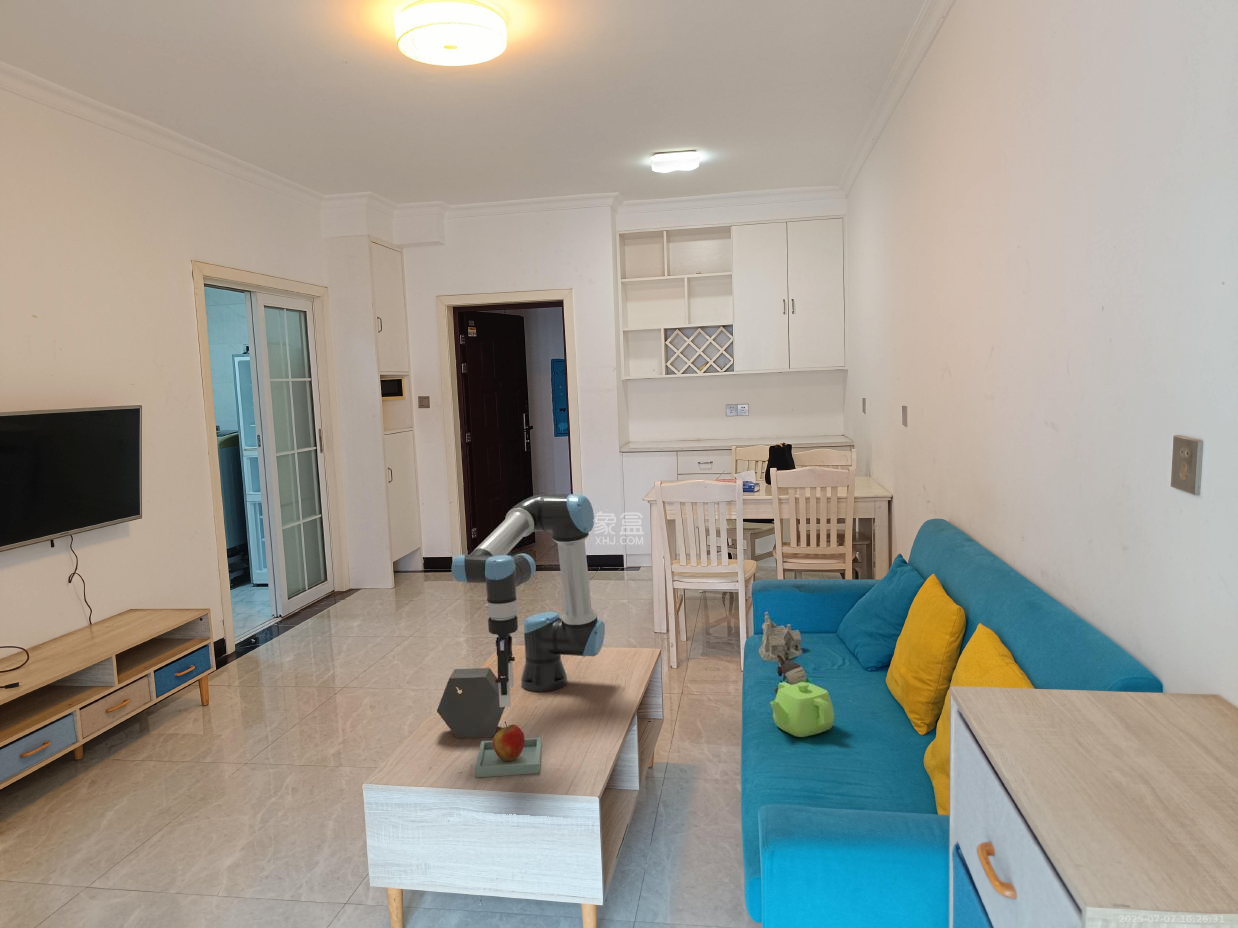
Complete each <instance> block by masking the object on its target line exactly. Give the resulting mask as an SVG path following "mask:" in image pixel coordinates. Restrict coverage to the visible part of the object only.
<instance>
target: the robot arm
mask: <svg viewBox="0 0 1238 928" xmlns="http://www.w3.org/2000/svg"><path fill="white" fill-rule="evenodd" d="M594 519H595V514H594V509H593V506H592V503H591V501H590V499H588V497H587V496H586V495H583V494H575V493H570V494H569V493H566V494H563V493H561V494H560V493H558V494H556V493H555V494H552V493H551V494H546V493H545V494H542V493H541V494H536V495H532V496H530V497H527V498H526V499H524V500H522V501H520V502H518V503H517V504H516V505H514V506H513V507H512V508H511V509H510V510H508V512H507V513H506V515H505V519H504V520H503V521H502V522H501V523H500V524H499V525H498V526H497V527H496V528H495V529H494V530H493V531H492V532H491V533H490V534H489V535H488V536H487V537H486V538H485V539H484V540H483V541H482V542H481V543H480V544H478V546H477V547H475V549H474V550H473V551H471V553H470V554H466V553H465V554H458V555H456V556H455V557H454V558H453V560H452V564H451V575H452V578H453V579H454V580H455V581H456V582H458V583H465V584H485V586H486V602H487V604H485V605H484V608H485V609H487V617H488V618H487V623H488V626H487V627H488V633H490V634H491V635H496V636H497V637H496V640H495V647H496V657H497V678H498V679H497V680H495V682H496V683H498V685H499V703H500V707H505V708H506V707H511V706H512V704H511V687H514V686H515V684H514V683H515V682H514V667H513V665H514V664H513V662H515V661H516V660H515V659H516V658H515V656H513V649H512V648H513V646H512V645H513V636H512V635H511V634H513V633H516V632H517V631H518V628H519V625H518V624H519V622H518V616H517V614H518V599H517V587H519V586H521V585H522V584H524V583H527V582H528V581H530V579H532V578H533V577H534V575H535V573H536V570H537V567H536V566H537V565H536V563H535V560H534V558H533V557H532V556H531V555H529V554H527V553H517V554H515V555H513V556H512V555H508V554H509V553H510V551H512V550H513V548H514V547H515V546H516V545H517V544H518V543H519V542H520V541H521V540H522V539H523V537H524V538H525V537H528V536H529V535H531V534H532V533H534V532H550V533H551V539H552V541H553V542H555V543H556V544H557V548H558V549H557V550H558V560H559V568H560V576H561V578H560V579H561V586H562V594H563V603H564V611H565V612H564V613H563V614H562V615H561V617H560V614H559V613H558V612H556V611H546V612H545V611H544V612H540V613H536V614H532V615H530V616H529V617H527V618H526V619H525V621H524V622H523V623H524V624H523V637H524V654H525V655H524V656H525V664H524V667H523V670H522V674H521V677H520V684H521V687H522V688H523V689H525V690H527V691H531V692H551V691H555V690H558V689H561V688H563V687H565V686H566V684H567V683H568V675H567V673H566V670H565V667H564V664H563V661H562V658H561V657H562V655H563V656H573V657H575V656H576V657H583V658H586V657H595V656H597V655H599V653H600V651H601V650H602V648H603V643H604V641H605V636H606V635H605V634H606V625H605V622H604V621H603V620H601V619H598V613H597V612H596V610H594V609H593V608H592V600H591V598H592V597H591V589H590V579H589V578H590V577H589V570H588V561H587V560H588V559H587V551H586V550H587V549H586V540H587V538H588V537H589V535H590V532H591V531H592V530H593V528H594V525H595V523H594Z"/></svg>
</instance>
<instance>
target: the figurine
mask: <svg viewBox="0 0 1238 928" xmlns="http://www.w3.org/2000/svg"><path fill="white" fill-rule="evenodd" d="M777 658H778V660H779V661H778V662H779V663H778V664H777V668H776V671H777V676H778V677H782V675H783V678H782V679H779V683H782V682H786V683H788V684H790V685H794V684H797V683H800V682H805V683H811V684H813V685H814V683H813V680H812V678H811V677H807V674H806V672H805V671H806V670H804V668H803V667H802V666H801V665H800V664H799V663H797V662H796V661H792V660H790V659H789V655H788V653H787V652H786V653H785V655H784V658H785V661H784V660H783V658H782V657H781V656H779V655H777ZM785 680H786V681H785ZM774 692H775V694H776V695H777V692H778V686H776V687H775V689H774Z"/></svg>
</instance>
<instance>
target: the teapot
mask: <svg viewBox="0 0 1238 928" xmlns="http://www.w3.org/2000/svg"><path fill="white" fill-rule="evenodd" d="M777 687H778V692H777V694H776V695H775V696H776V697H775V700H772V701H770V702H769V705H770V706H771V709H772V711H773V712H772V713H773V714H772V718H773V721H774V723H775V726H776V727H778V728H779V729H781V730H783V731H784V732H787V733H788V734H790V735H792V736H794V737H797V738H807V737H809V736H815V735H817V734H821V733H823V732H826V731H828V730H830V729H832V727H833V725H834V723H835V713H834V708H833V707H834V706H833V702H832V699H831V697H830V694H829V691H828V690H826V689H825V688H823V687H820V686H818V685H815V684H814V683H813V684H811V683H805V682H800V683H797V684H794V685H790V684H788V683H786V681H782V683H781V682H779V683H778V686H777Z"/></svg>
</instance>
